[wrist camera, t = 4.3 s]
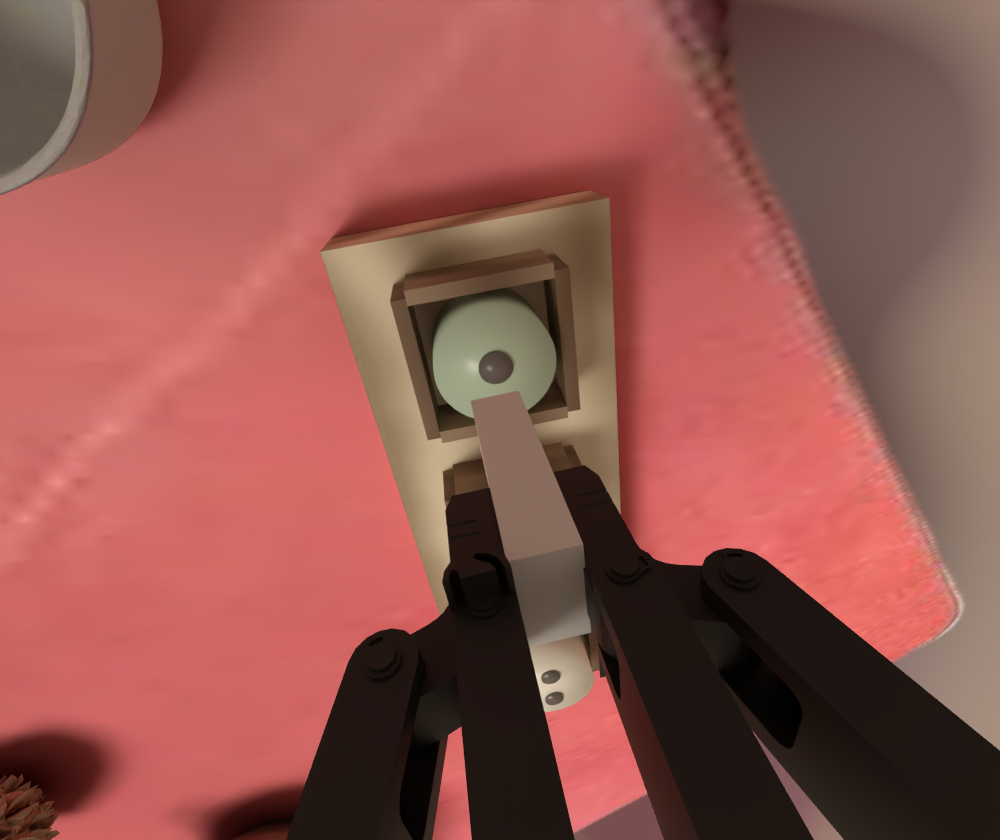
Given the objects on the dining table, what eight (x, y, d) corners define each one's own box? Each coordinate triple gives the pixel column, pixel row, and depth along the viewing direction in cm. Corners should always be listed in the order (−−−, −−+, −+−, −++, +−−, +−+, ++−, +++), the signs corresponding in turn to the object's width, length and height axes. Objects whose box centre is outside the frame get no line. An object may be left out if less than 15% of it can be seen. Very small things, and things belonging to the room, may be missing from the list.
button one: (444, 398, 24) (447, 432, 21) (420, 297, 21) (420, 321, 19) (546, 378, 24) (562, 409, 21) (534, 275, 22) (550, 296, 19)
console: (458, 643, 38) (464, 716, 33) (331, 238, 23) (307, 266, 18) (611, 610, 39) (638, 677, 34) (588, 190, 23) (631, 205, 18)
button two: (508, 673, 33) (516, 721, 30) (497, 625, 30) (504, 673, 28) (582, 656, 33) (596, 703, 30) (577, 607, 30) (592, 653, 28)
